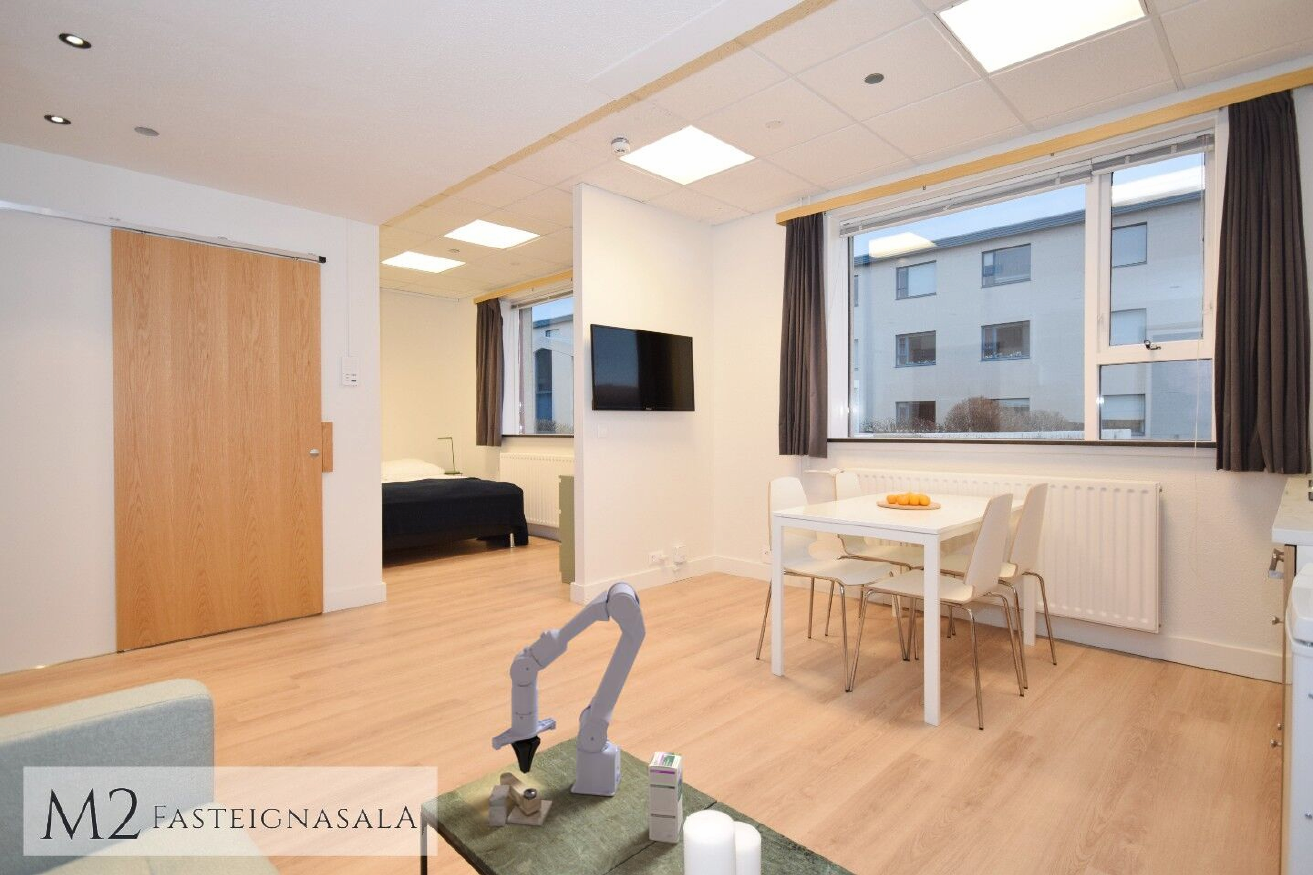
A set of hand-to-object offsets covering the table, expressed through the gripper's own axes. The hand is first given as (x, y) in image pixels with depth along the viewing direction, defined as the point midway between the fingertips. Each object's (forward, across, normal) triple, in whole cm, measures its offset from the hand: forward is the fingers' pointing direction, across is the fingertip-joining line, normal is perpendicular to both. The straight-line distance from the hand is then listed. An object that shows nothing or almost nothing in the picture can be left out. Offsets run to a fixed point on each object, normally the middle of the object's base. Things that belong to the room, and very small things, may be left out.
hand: (524, 770), depth 140 cm
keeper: (+4, +9, +6) cm, 12 cm away
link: (+3, +4, +4) cm, 6 cm away
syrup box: (+4, -13, +32) cm, 34 cm away
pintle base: (+4, +4, +9) cm, 10 cm away
